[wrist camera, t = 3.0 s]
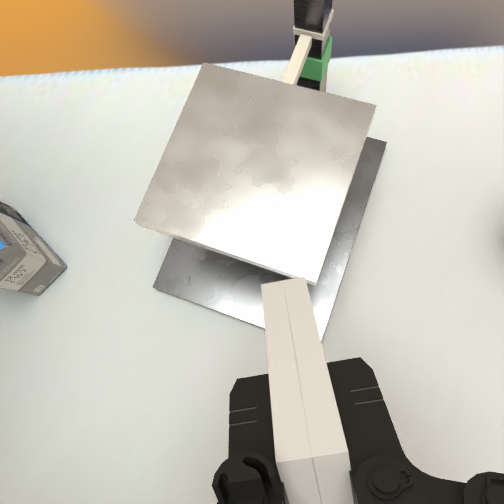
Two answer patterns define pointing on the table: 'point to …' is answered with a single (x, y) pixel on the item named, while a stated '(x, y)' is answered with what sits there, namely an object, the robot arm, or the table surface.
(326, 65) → the stand
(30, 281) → the label tape box
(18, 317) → the table surface
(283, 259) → the pan
